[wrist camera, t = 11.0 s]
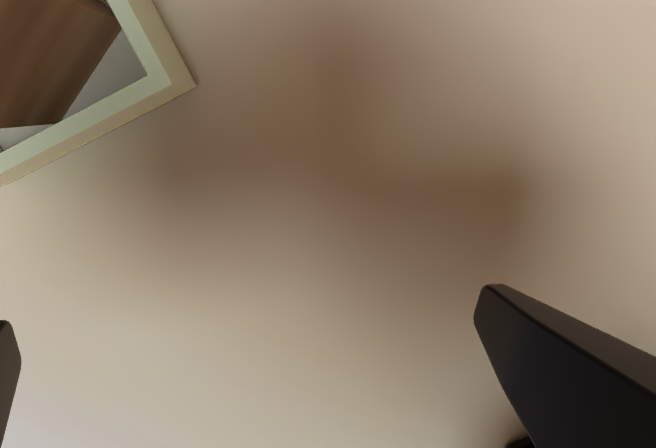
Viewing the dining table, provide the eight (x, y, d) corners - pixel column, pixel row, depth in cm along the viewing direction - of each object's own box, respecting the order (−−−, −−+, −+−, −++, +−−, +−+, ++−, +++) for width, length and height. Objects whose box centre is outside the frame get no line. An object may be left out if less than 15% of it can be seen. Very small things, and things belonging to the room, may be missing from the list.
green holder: (197, 86, 19) (172, 83, 16) (8, 183, 20) (-48, 198, 17) (68, -158, 16) (13, -212, 14) (-135, -34, 18) (-227, -60, 15)
